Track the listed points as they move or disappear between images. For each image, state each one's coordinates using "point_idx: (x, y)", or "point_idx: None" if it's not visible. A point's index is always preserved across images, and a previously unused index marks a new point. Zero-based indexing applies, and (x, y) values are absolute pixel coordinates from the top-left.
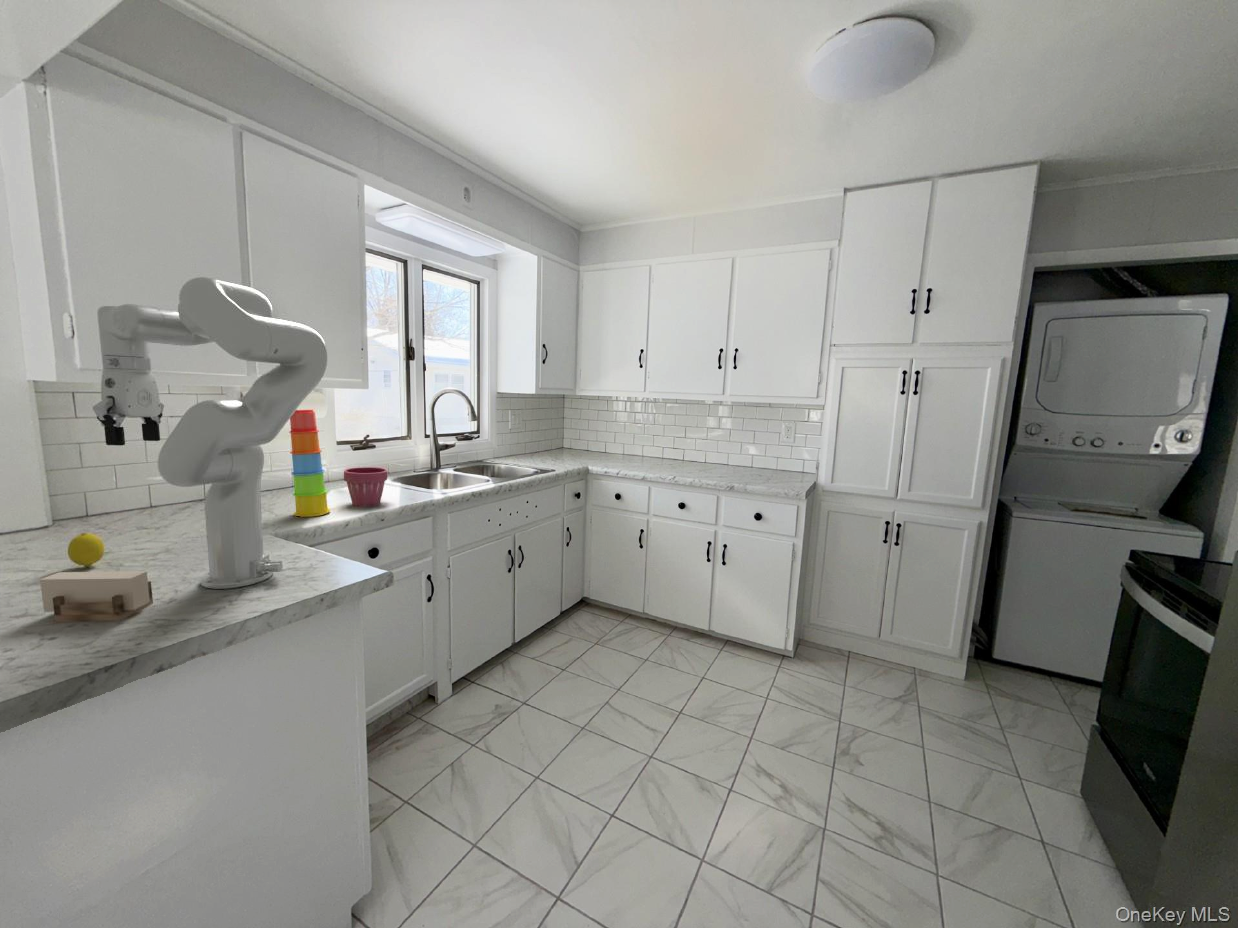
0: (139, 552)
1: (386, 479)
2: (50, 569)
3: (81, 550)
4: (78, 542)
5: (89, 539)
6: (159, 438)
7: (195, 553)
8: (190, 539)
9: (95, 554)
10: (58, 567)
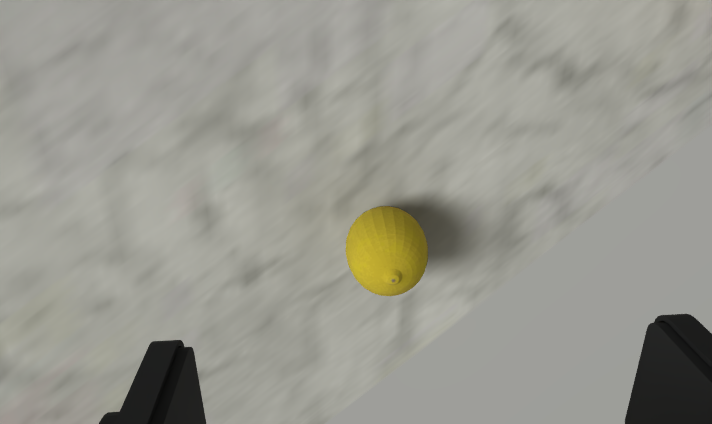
0: (238, 194)
1: None
2: None
3: (424, 238)
4: (423, 260)
5: (408, 246)
6: (159, 350)
7: (231, 2)
8: (70, 141)
9: (401, 210)
10: None
